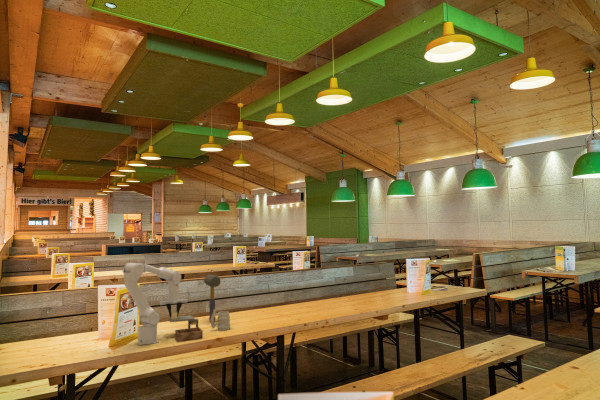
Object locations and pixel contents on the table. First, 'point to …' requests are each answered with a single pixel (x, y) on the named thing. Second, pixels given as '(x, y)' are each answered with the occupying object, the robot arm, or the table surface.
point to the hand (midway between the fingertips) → (173, 316)
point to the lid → (179, 317)
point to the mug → (221, 320)
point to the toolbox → (189, 333)
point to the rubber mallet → (212, 291)
